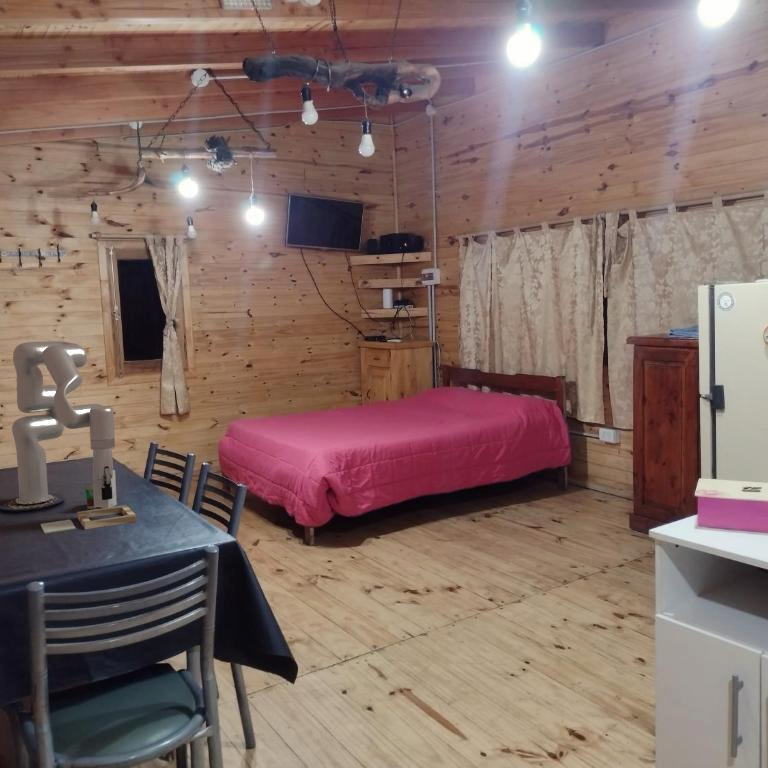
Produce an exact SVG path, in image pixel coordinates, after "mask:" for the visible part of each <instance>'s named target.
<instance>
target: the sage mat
mask: <svg viewBox="0 0 768 768" xmlns="http://www.w3.org/2000/svg"><path fill="white" fill-rule="evenodd" d="M40 527H41V529H42V532H43V534H50V533H57V532H64V531H70V530H71V531H72V530H76V526H75V525H74V523H73V521H72V520H71V519H65V520H57V521H52V522H51V521H50V522H44V523H40Z"/></svg>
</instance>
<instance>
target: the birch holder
mask: <svg viewBox="0 0 768 768" xmlns="http://www.w3.org/2000/svg"><path fill="white" fill-rule="evenodd" d="M116 514H122V516H115V517H109V518H108V517H107V518H100V519H93V520H90V518H97V517H102V516H103V517H104V516H109V515H110V516H111V515H116ZM76 518H77V520H78V522H79V523H80V524H81V526H82V527H83V528H84V530H90V529H97V528H104V526H105V527H110V526H116V525H118V526H119V525H123V524H129V523H137V522H138V516H137V514H136V513H135V512H134V511H133V510H132V509H131V508H130V507H129V506H128V505H126V504H124V505H118V506H117V505H115V506H113V507H110V508H102V509H95V510H88V509H87V510H84V511H83V510H82V511H77V512H76ZM136 521H137V522H136Z"/></svg>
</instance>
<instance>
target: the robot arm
mask: <svg viewBox="0 0 768 768" xmlns="http://www.w3.org/2000/svg"><path fill="white" fill-rule="evenodd" d="M87 359H88V356H87V352H86V351H85V349H84V347H82V345H79V344H77V343H73V342H68V341H60V340H59V341H58V340H57V341H56V340H53V341H51V340H49V341H29V342H28V341H27V342H22V343H19V344H18V345H16V347H14V349H13V352H12V361H13V365H14V369H15V372H16V405H17V408H18V411H20V412H21V413H25V414H32V413H42V412H45V413H44V414H37V415H36V414H35V415H26V416H22V417H19V418H17V419H16V420H14V421H13V423H12V427H11V432H12V436H13V440H14V444H15V451H16V460H17V461H16V462H17V464H16V465H17V479H18V493H19V495H18V496H19V497H17V498H16V499H15V500H18V499H19V500H21V501H24V502H26V503H30V502H35V501H36V502H40V501H45V500H49V499H52V498H53V499H54V497H53V495H52V494H49V491H48V490H49V488H48V470H47V469H48V468H47V455H46V451H45V449H44V448H43V446H41V444H40V443H39V442H41V441H42V442H43V441H48V440H54V439H57V438H60V437H61V436H62V435H63V433H64V429H65V428H67V429H68V430H75V429H76V430H77V429H83V428H89V440H90V443H89V444H90V450H91V451H92V472H93V471H94V472H95V478H96V479H97V480H100V479H101V480H102V488H101V489H102V500H107V499H112V484H111V479H112V478H113V470H114V464H113V462H114V461H113V449H115V448H116V438H115V437H116V436H115V418H114V416H115V415H114V414H115V413H114V412H115V411H114V409H113V407H111V406H109V405H107V406H106V405H105V406H103V405H102V404H99V403H89V404H79V405H78V404H77V405H72V406H71V404H70V402H69V400H68V398H67V395H68V394H70V393H71V392H73V391H75V390H76V389H78V388H79V387H80V386H81V385H82V382H83V376H82V374H81V372H80V371H79V369H78V368H82V367H84V366H86V364H87ZM40 366H45V368H46V369H47V371H48V372H49V374H50V375H51V376H50V377H51V378H52V380H53V381H54V383H55V384H54V385H53V384H46V385H44V375H43V372H42V370H41V369H40ZM110 475H111V476H110ZM105 476H106V478H103V477H105ZM104 481H105V482H104ZM53 499H52V500H53Z"/></svg>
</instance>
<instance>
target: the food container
mask: <svg viewBox="0 0 768 768" xmlns="http://www.w3.org/2000/svg"><path fill="white" fill-rule="evenodd" d="M83 490H85V498H86V506H87V511H88V510H95V509H102V507H94V493H93V482H89V483H88V482H86V483H84V487H83Z"/></svg>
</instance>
